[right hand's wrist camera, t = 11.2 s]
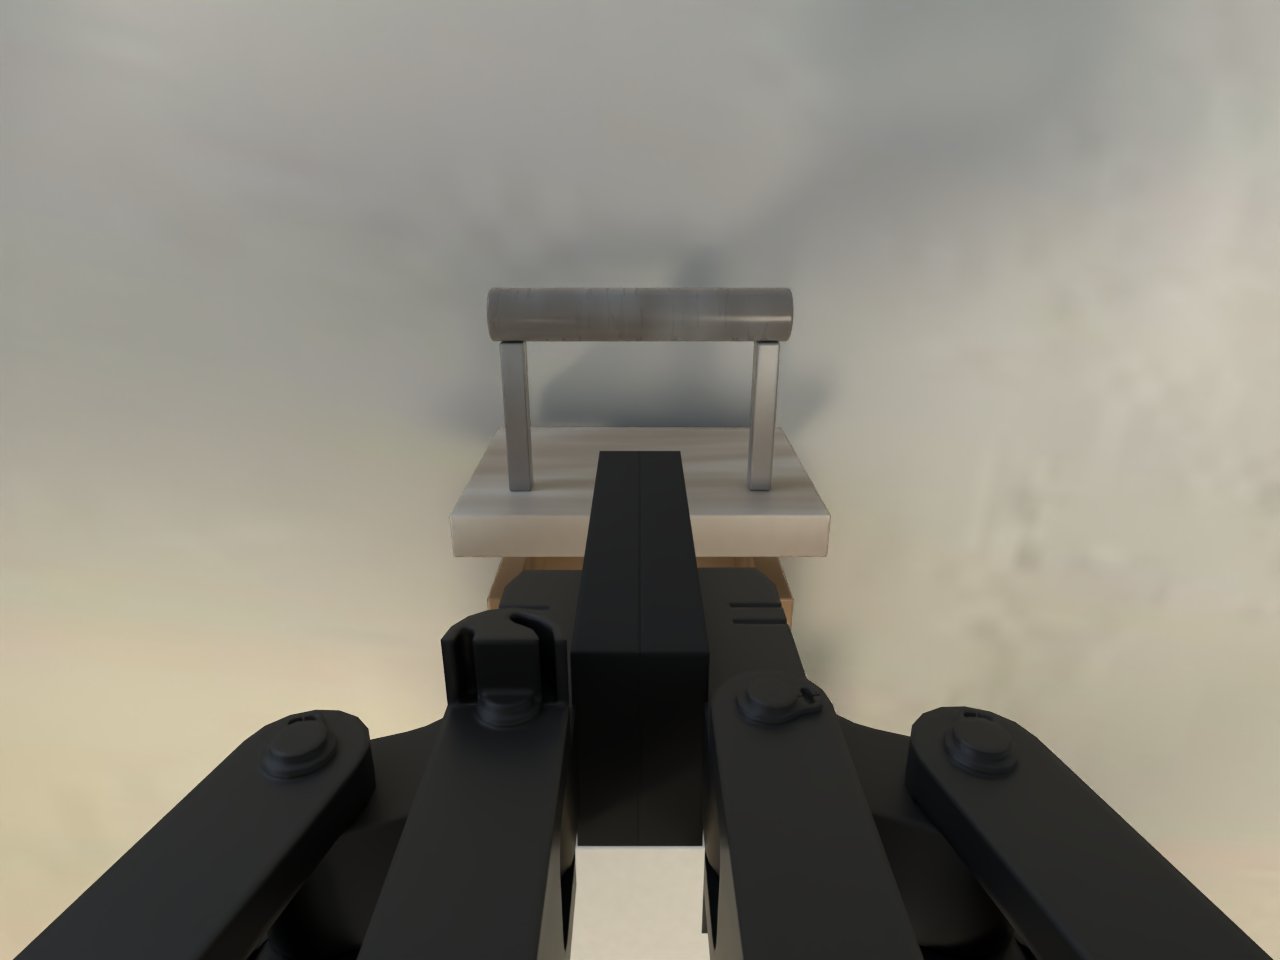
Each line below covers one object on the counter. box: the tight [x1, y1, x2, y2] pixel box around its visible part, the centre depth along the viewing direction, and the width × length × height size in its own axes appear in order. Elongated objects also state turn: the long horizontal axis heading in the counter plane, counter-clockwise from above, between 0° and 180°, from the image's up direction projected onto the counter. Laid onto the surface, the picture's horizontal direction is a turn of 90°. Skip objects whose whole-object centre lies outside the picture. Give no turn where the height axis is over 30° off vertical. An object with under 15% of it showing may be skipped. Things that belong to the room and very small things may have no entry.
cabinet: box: [570, 834, 710, 960], centre depth 30 cm, size 18×11×9 cm, turn 0°
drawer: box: [450, 288, 831, 630], centre depth 25 cm, size 23×10×7 cm, turn 0°
